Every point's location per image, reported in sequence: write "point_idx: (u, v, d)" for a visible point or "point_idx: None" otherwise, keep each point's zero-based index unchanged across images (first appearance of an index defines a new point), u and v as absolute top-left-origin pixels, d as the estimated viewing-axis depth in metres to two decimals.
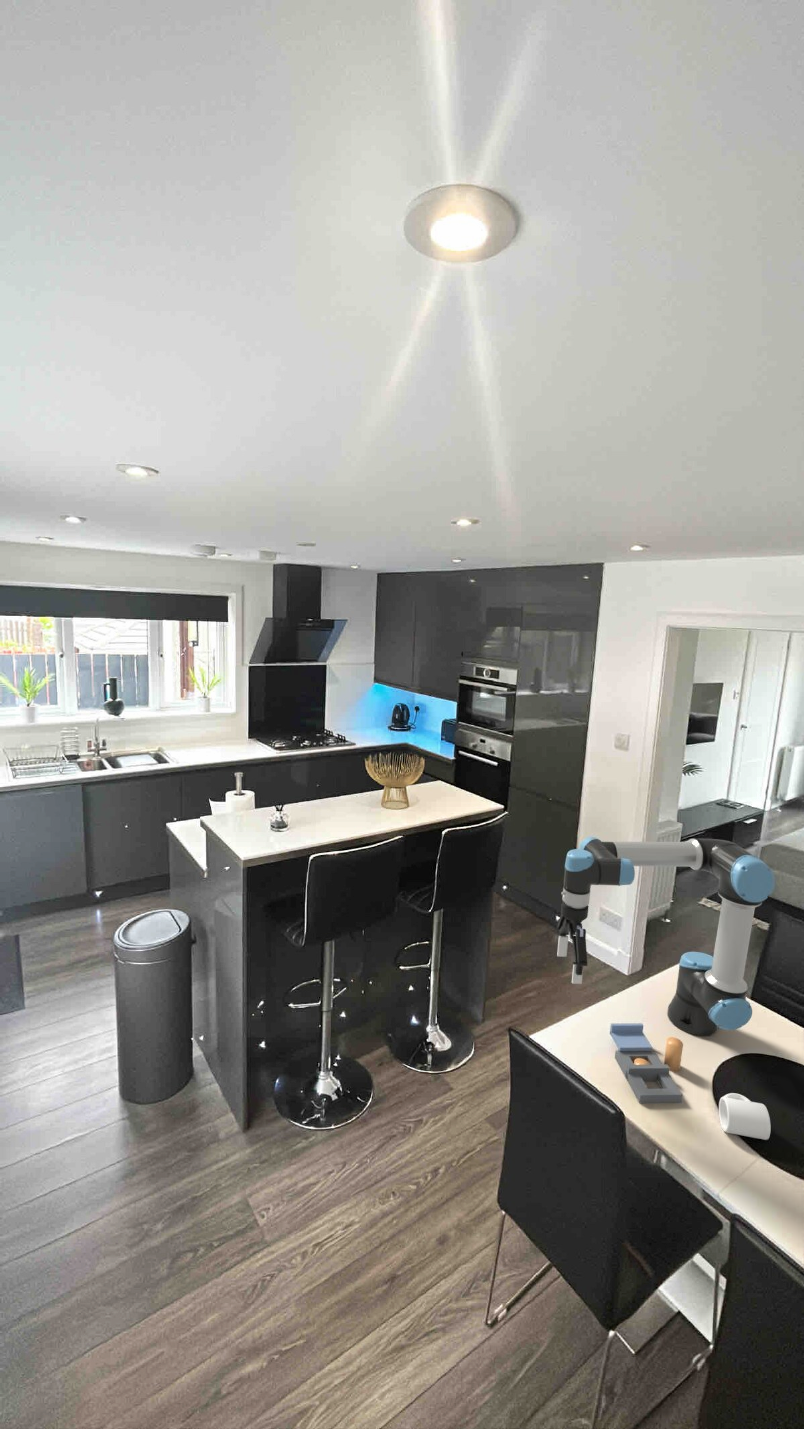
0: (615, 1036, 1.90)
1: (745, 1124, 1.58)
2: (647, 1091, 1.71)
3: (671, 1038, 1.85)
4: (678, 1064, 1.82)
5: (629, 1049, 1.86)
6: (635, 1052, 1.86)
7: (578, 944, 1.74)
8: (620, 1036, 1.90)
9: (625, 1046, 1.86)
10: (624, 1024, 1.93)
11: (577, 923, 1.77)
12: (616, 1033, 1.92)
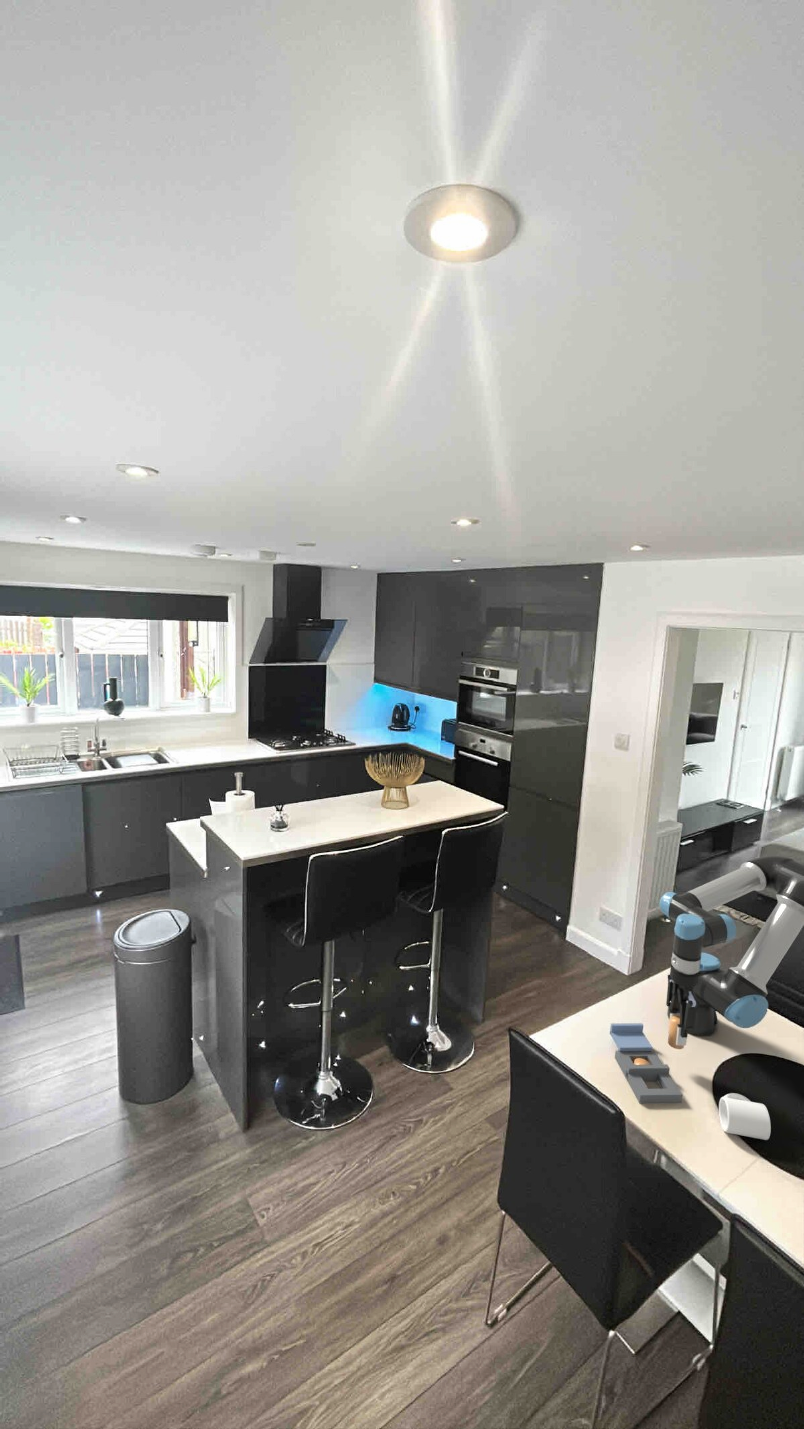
0: (615, 1036, 1.90)
1: (745, 1124, 1.58)
2: (647, 1091, 1.71)
3: (675, 1016, 1.83)
4: None
5: (629, 1049, 1.86)
6: (635, 1052, 1.86)
7: (688, 1013, 1.75)
8: (620, 1036, 1.90)
9: (625, 1046, 1.86)
10: (624, 1024, 1.93)
11: (689, 989, 1.76)
12: (616, 1033, 1.92)
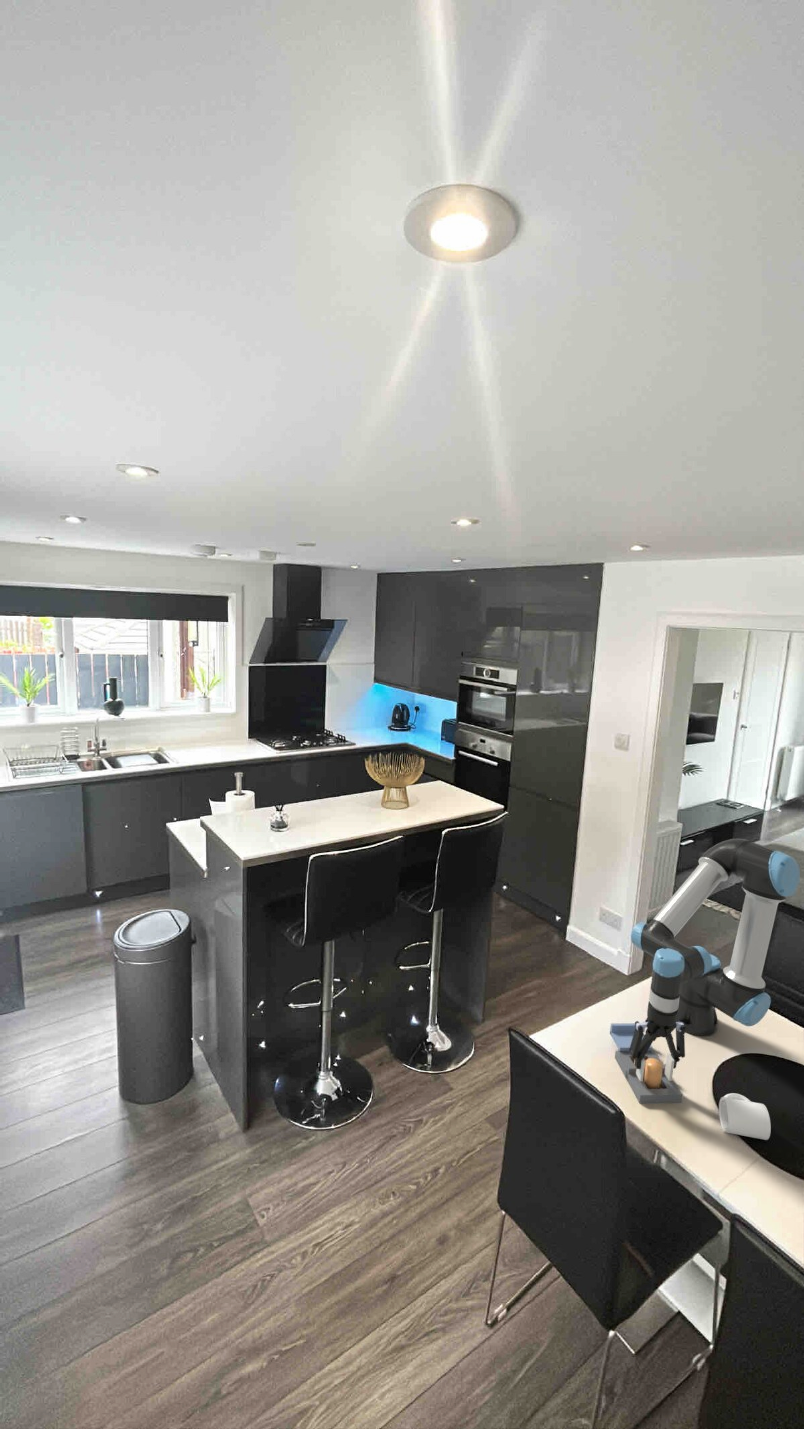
0: (615, 1036, 1.90)
1: (745, 1124, 1.58)
2: (647, 1091, 1.71)
3: (659, 1063, 1.74)
4: (646, 1083, 1.74)
5: None
6: None
7: (634, 1034, 1.73)
8: (620, 1036, 1.90)
9: (625, 1046, 1.86)
10: (624, 1024, 1.93)
11: (647, 1018, 1.71)
12: (616, 1033, 1.92)
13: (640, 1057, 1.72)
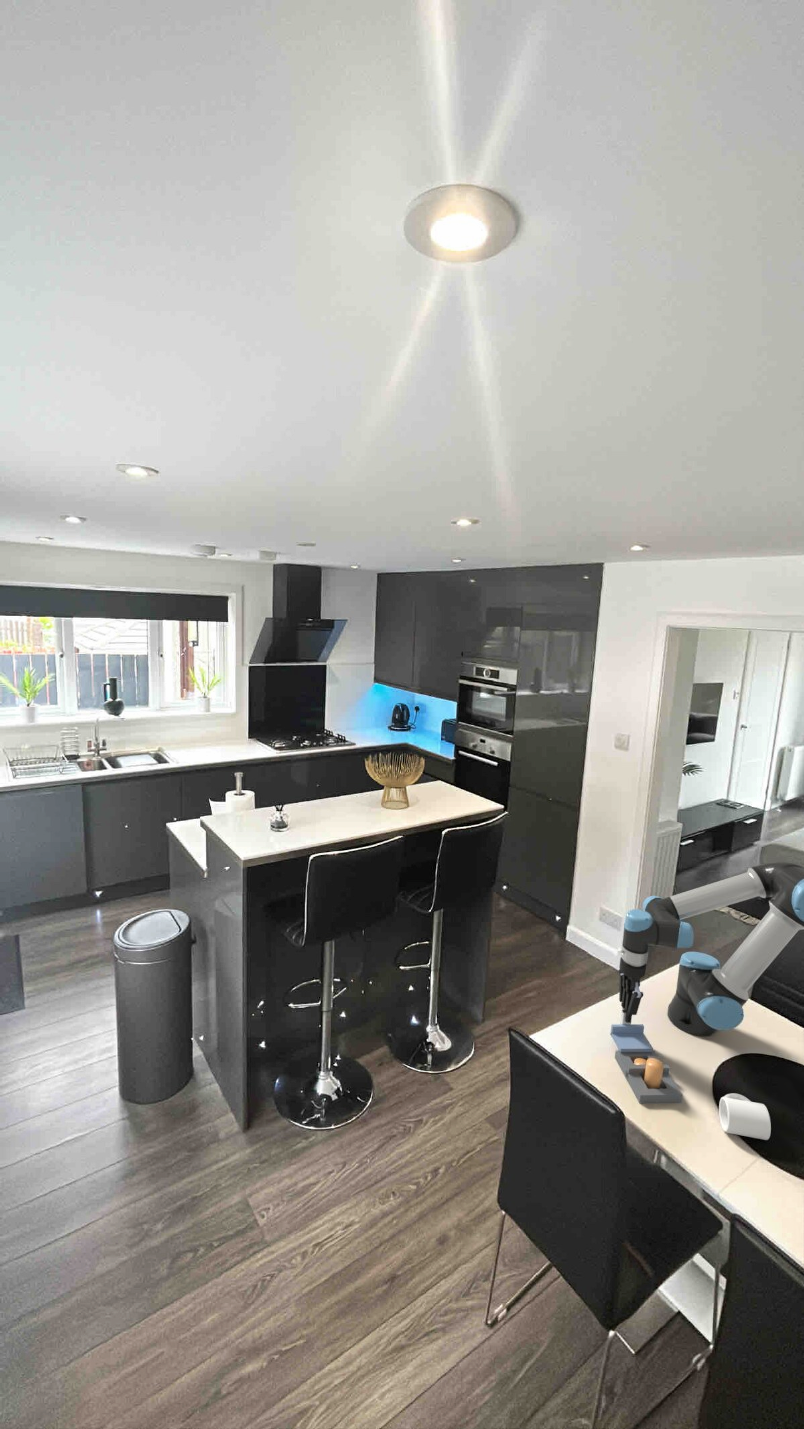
0: (616, 1037, 1.90)
1: (745, 1124, 1.58)
2: (647, 1091, 1.71)
3: (660, 1063, 1.74)
4: (646, 1083, 1.74)
5: (630, 1050, 1.85)
6: (635, 1052, 1.86)
7: (632, 1002, 1.87)
8: (621, 1037, 1.90)
9: (626, 1047, 1.86)
10: (625, 1025, 1.92)
11: (636, 980, 1.86)
12: (617, 1034, 1.91)
13: None
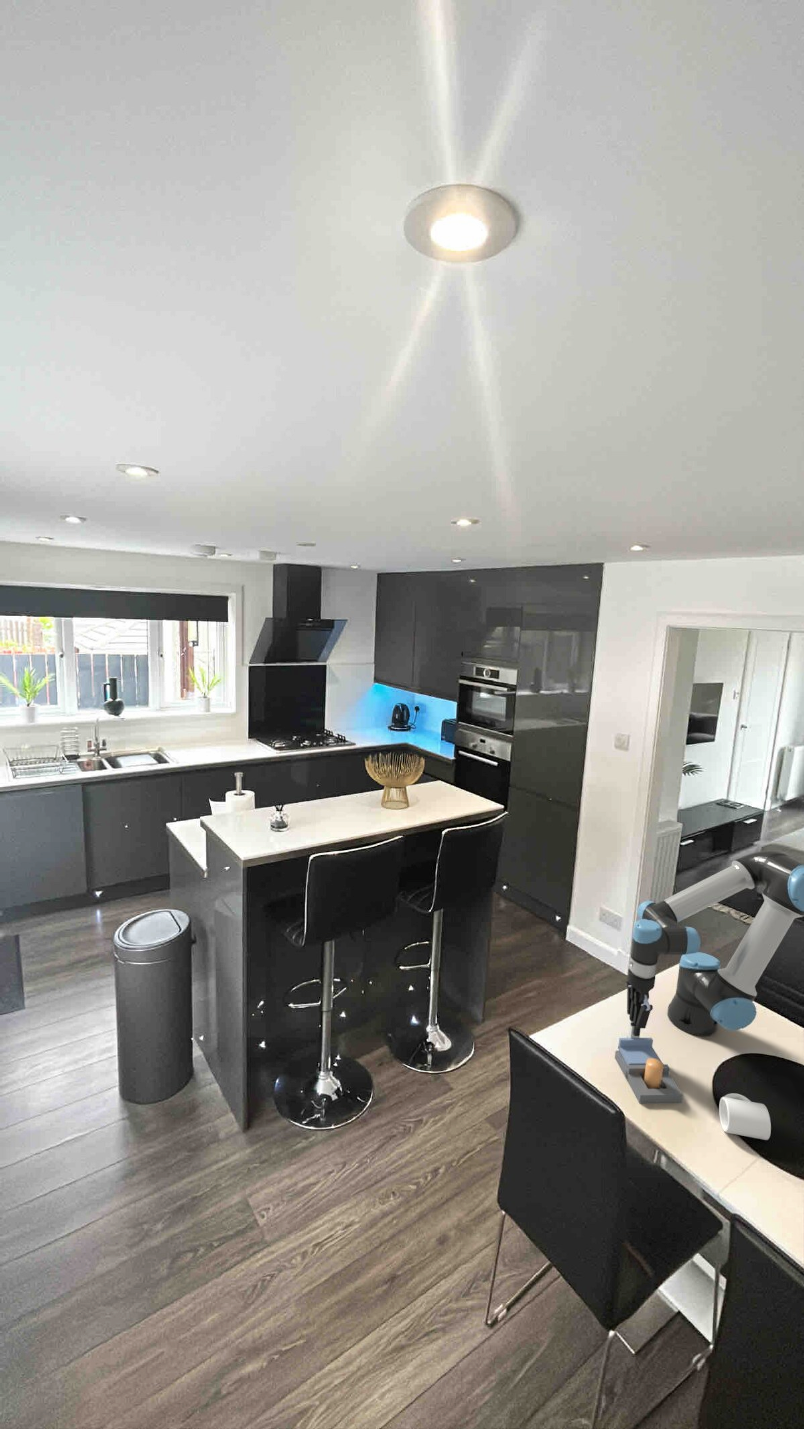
0: (624, 1051, 1.84)
1: (745, 1124, 1.58)
2: (647, 1091, 1.71)
3: (660, 1063, 1.74)
4: (646, 1083, 1.74)
5: None
6: None
7: (641, 1015, 1.81)
8: (629, 1051, 1.84)
9: (634, 1062, 1.80)
10: (633, 1038, 1.86)
11: (645, 993, 1.81)
12: (625, 1048, 1.85)
13: None
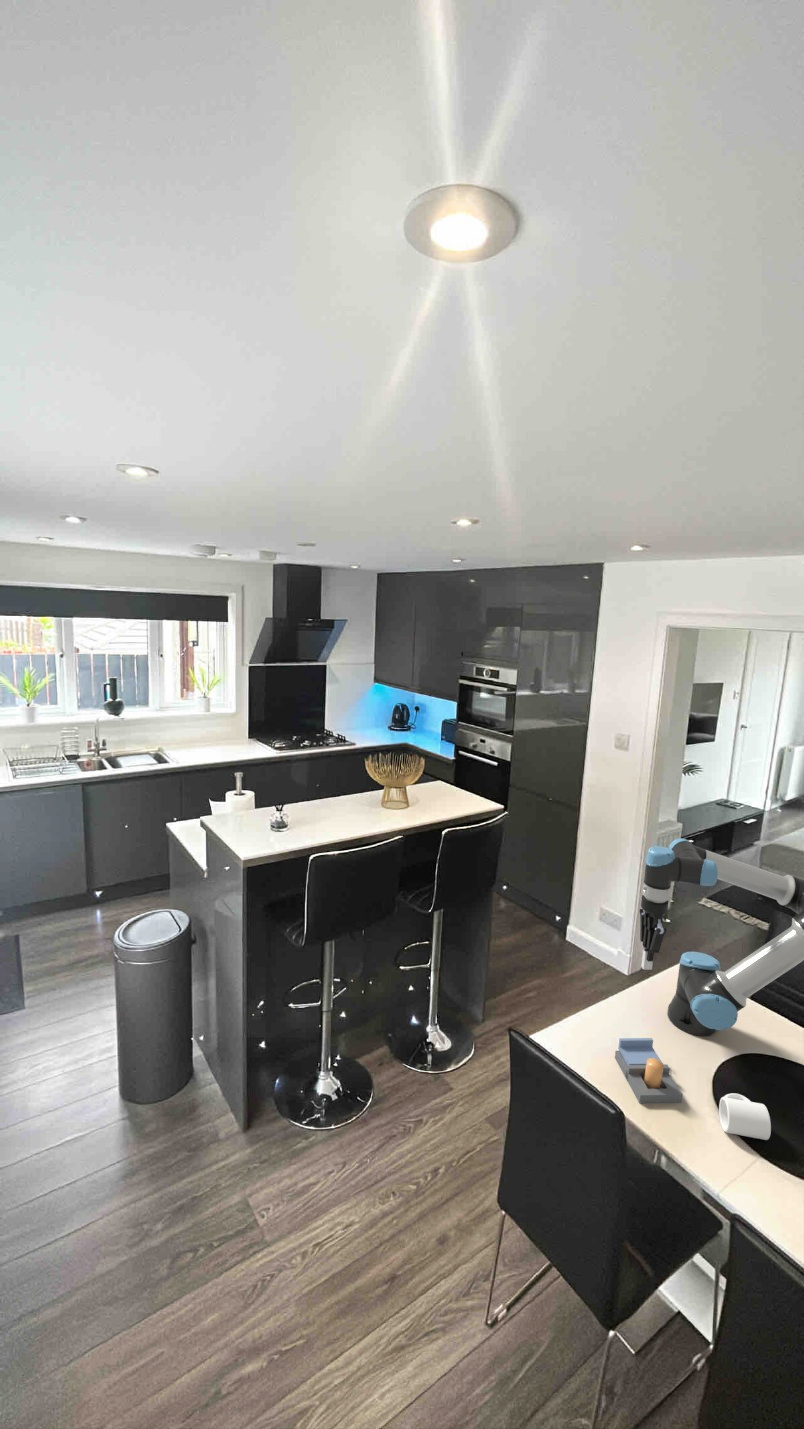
0: (624, 1051, 1.84)
1: (745, 1124, 1.58)
2: (647, 1091, 1.71)
3: (660, 1063, 1.74)
4: (646, 1083, 1.74)
5: None
6: None
7: (655, 939, 1.84)
8: (629, 1051, 1.84)
9: (634, 1062, 1.80)
10: (633, 1039, 1.86)
11: (658, 917, 1.84)
12: (625, 1048, 1.85)
13: None
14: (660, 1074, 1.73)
